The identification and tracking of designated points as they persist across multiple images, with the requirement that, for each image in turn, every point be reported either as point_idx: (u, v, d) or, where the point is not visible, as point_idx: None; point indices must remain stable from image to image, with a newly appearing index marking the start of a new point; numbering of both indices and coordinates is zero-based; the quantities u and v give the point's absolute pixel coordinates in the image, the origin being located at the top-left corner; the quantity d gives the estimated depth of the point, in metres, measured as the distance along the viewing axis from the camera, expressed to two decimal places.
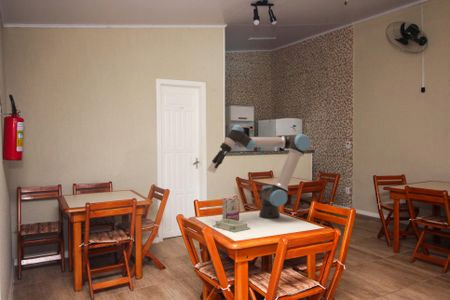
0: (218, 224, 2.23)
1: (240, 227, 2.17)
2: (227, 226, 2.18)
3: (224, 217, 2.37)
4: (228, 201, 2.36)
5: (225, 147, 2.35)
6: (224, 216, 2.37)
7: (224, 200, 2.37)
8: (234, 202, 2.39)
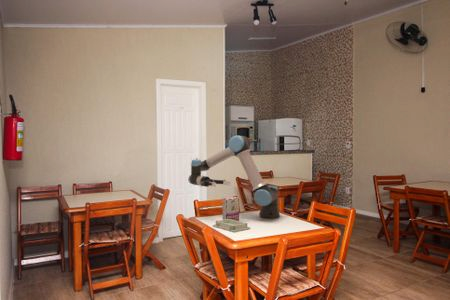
0: (218, 224, 2.23)
1: (240, 227, 2.17)
2: (227, 226, 2.18)
3: (224, 217, 2.37)
4: (228, 201, 2.36)
5: None
6: (224, 216, 2.37)
7: (224, 200, 2.37)
8: (234, 202, 2.39)
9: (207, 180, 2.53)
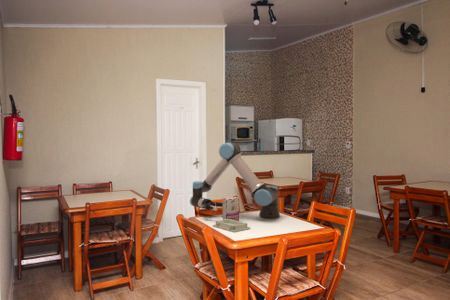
0: (218, 224, 2.23)
1: (240, 227, 2.17)
2: (227, 226, 2.18)
3: (224, 217, 2.37)
4: (228, 201, 2.36)
5: None
6: (224, 216, 2.37)
7: (224, 200, 2.37)
8: (234, 202, 2.39)
9: (208, 203, 2.52)
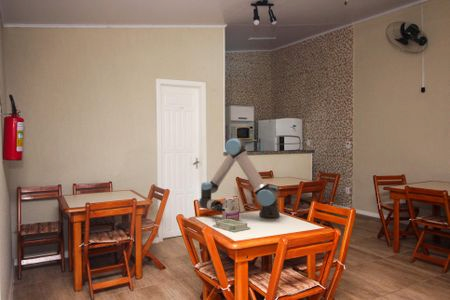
0: (218, 224, 2.23)
1: (240, 227, 2.17)
2: (227, 226, 2.18)
3: (224, 217, 2.37)
4: (228, 201, 2.36)
5: None
6: (224, 216, 2.37)
7: (224, 200, 2.37)
8: (234, 202, 2.39)
9: (219, 205, 2.44)
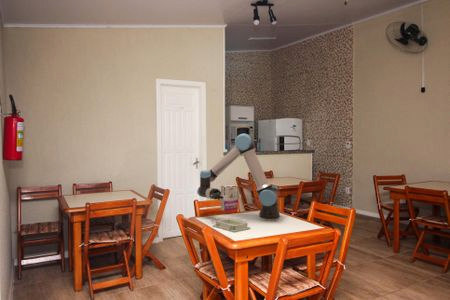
0: (218, 224, 2.23)
1: (240, 227, 2.17)
2: (227, 226, 2.18)
3: (222, 205, 2.33)
4: (226, 188, 2.32)
5: (211, 195, 2.45)
6: (222, 204, 2.33)
7: (222, 187, 2.33)
8: (232, 189, 2.35)
9: (217, 193, 2.40)
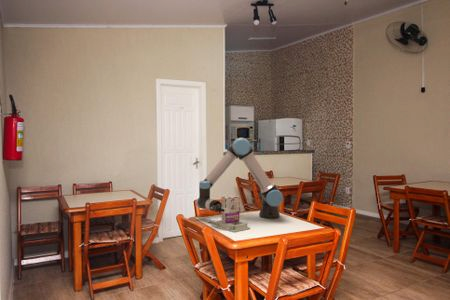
0: (218, 224, 2.23)
1: (240, 227, 2.17)
2: (227, 226, 2.18)
3: (223, 217, 2.21)
4: (227, 199, 2.20)
5: (211, 208, 2.32)
6: (223, 216, 2.21)
7: (223, 199, 2.21)
8: (233, 200, 2.23)
9: (218, 205, 2.28)
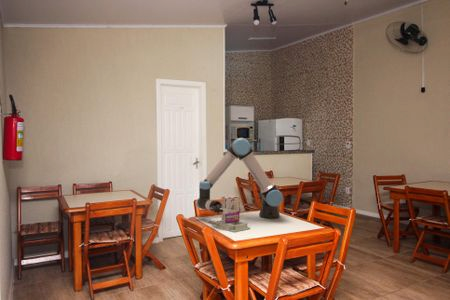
0: (218, 224, 2.23)
1: (240, 227, 2.17)
2: (227, 226, 2.18)
3: (223, 217, 2.21)
4: (227, 199, 2.20)
5: None
6: (223, 216, 2.21)
7: (223, 199, 2.21)
8: (233, 200, 2.23)
9: (217, 205, 2.28)
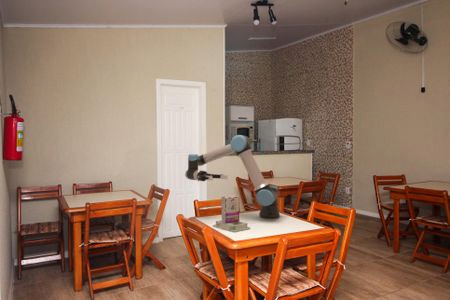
0: (218, 224, 2.23)
1: (240, 227, 2.17)
2: (227, 226, 2.18)
3: (223, 217, 2.21)
4: (227, 199, 2.20)
5: None
6: (223, 216, 2.21)
7: (223, 199, 2.21)
8: (233, 200, 2.23)
9: (204, 174, 2.48)
